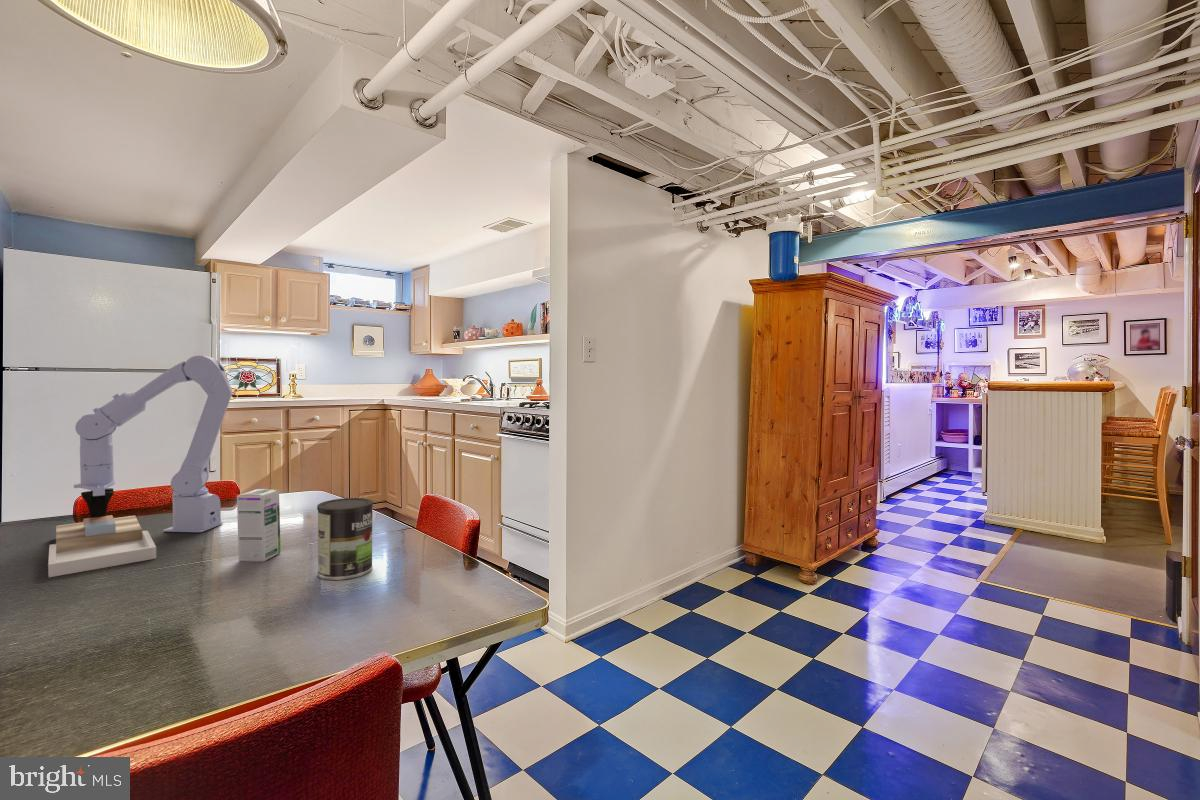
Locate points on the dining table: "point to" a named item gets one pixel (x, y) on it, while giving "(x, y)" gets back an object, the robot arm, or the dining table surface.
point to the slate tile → (100, 528)
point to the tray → (100, 556)
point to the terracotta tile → (98, 519)
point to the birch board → (75, 539)
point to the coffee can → (344, 538)
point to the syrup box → (258, 525)
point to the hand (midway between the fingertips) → (98, 520)
